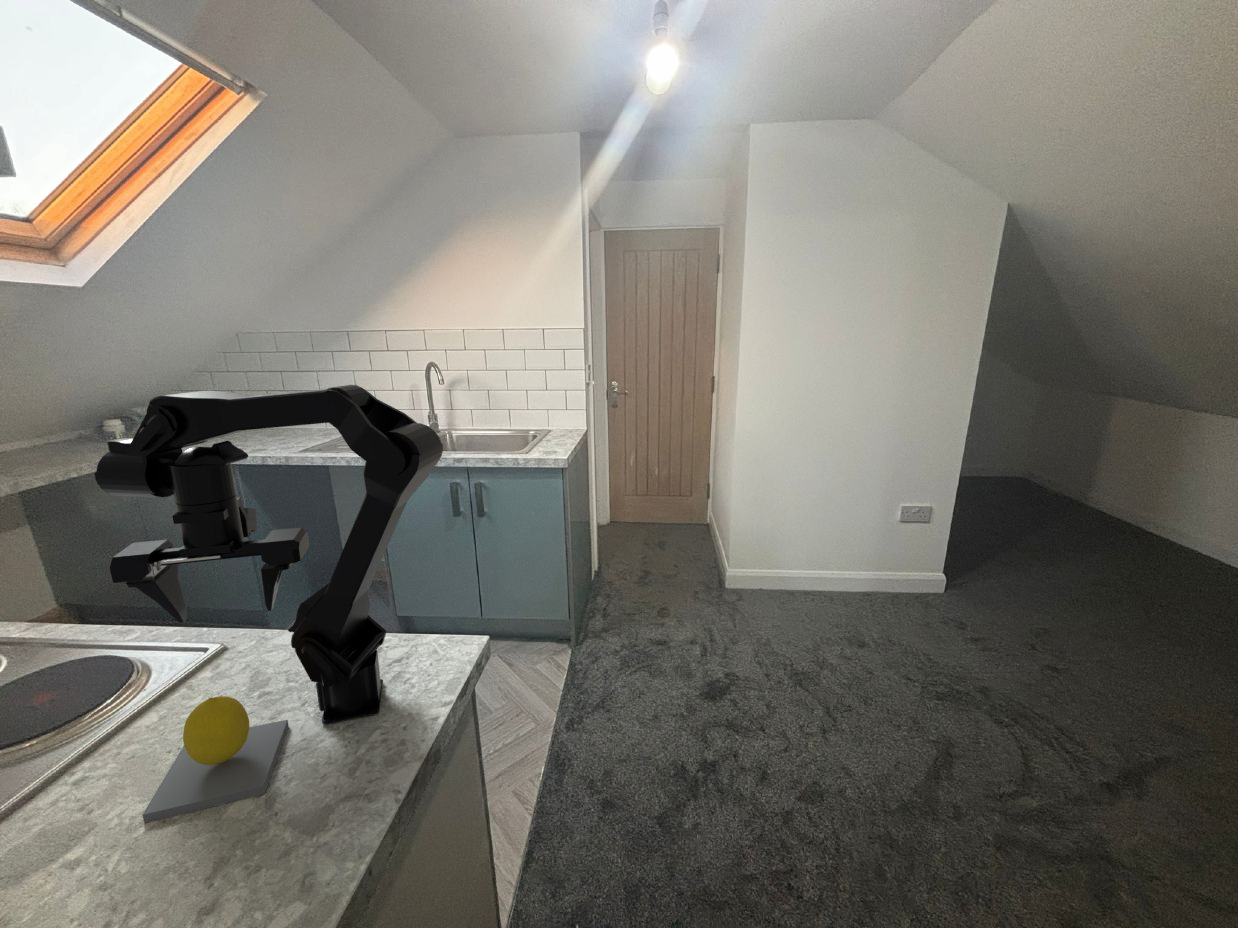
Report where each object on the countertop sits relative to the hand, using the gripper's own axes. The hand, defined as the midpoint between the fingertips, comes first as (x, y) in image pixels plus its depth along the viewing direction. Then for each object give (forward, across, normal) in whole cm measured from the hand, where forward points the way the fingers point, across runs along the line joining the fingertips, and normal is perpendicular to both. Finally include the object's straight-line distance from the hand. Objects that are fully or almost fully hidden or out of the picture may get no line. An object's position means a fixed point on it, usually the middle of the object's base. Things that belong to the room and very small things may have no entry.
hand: (228, 615), depth 64 cm
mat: (+12, -2, +13) cm, 18 cm away
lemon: (+11, -2, +13) cm, 17 cm away
